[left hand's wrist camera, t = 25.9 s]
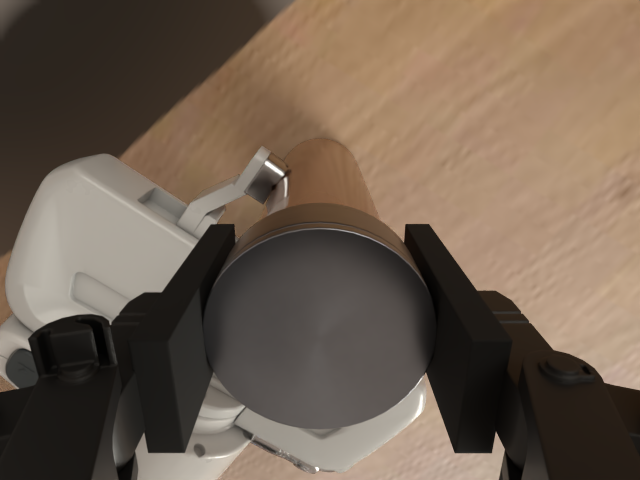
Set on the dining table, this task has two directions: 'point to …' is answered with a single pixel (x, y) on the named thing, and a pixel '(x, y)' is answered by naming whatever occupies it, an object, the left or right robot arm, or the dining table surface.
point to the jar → (320, 179)
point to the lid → (319, 318)
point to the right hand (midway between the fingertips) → (331, 197)
